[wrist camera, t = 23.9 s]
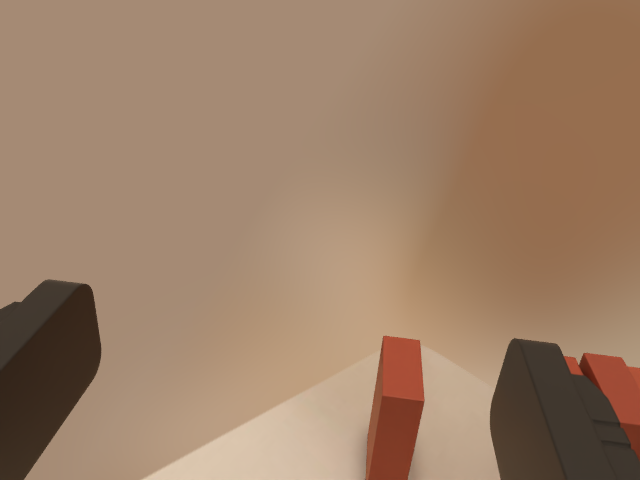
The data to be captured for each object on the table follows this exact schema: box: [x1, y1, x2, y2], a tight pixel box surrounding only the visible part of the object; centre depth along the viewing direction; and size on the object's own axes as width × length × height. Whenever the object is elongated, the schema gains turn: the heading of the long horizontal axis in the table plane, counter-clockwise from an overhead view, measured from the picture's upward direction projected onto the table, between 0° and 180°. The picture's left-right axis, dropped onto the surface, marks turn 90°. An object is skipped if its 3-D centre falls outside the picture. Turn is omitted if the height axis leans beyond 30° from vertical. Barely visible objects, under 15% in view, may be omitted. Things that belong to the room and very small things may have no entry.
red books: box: [564, 353, 640, 461], centre depth 37 cm, size 9×6×10 cm
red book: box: [366, 336, 424, 480], centre depth 38 cm, size 3×6×10 cm, turn 173°
